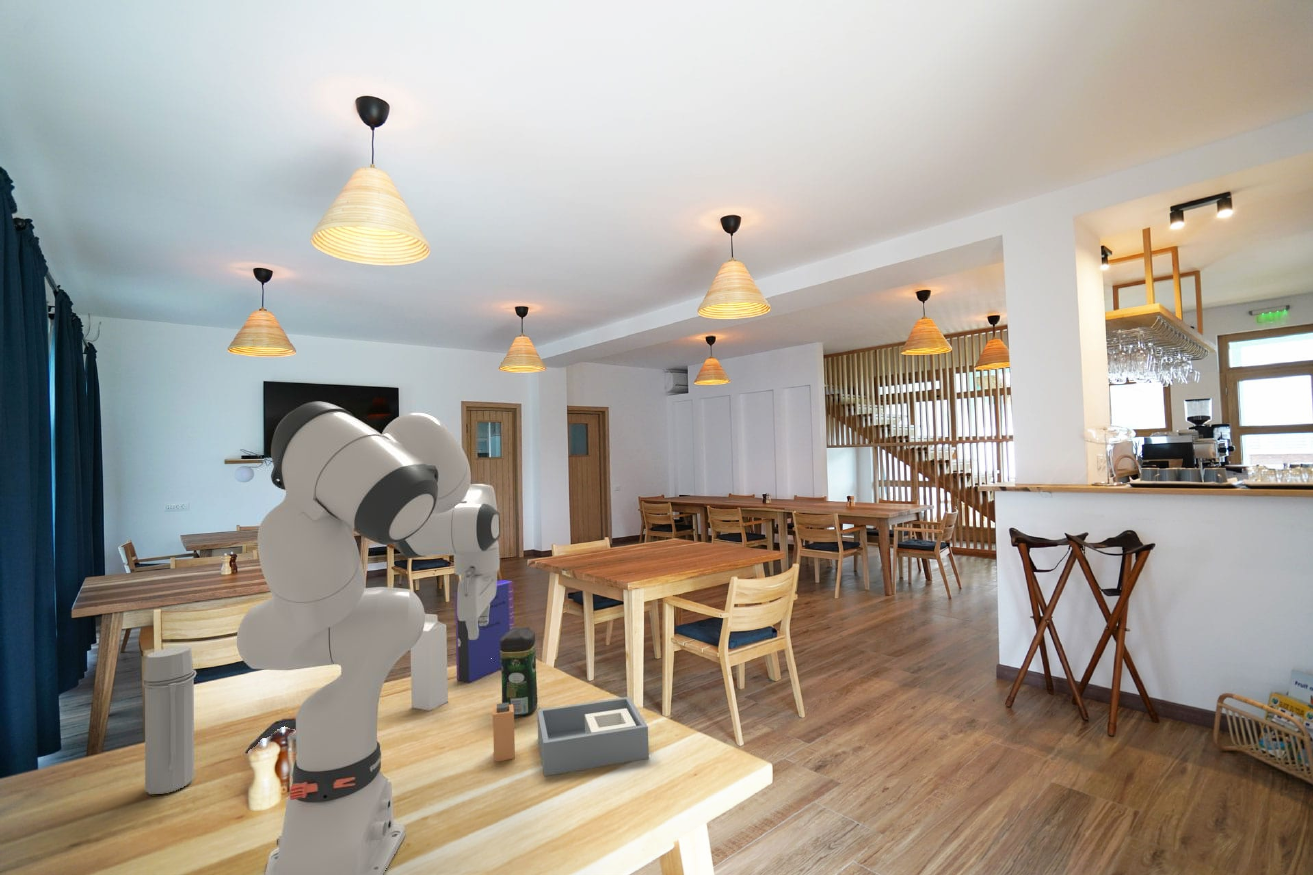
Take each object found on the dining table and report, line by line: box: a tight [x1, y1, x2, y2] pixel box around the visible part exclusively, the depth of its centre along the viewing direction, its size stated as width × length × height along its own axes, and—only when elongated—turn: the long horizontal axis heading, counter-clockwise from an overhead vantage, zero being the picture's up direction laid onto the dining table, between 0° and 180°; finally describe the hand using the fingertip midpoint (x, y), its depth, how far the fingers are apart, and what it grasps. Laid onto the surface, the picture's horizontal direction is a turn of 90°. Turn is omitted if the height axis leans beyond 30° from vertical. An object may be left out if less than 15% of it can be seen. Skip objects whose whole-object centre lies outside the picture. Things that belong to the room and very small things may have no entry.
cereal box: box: [454, 579, 515, 684], centre depth 170 cm, size 17×5×24 cm, turn 150°
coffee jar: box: [500, 626, 538, 718], centre depth 143 cm, size 10×8×19 cm
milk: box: [410, 613, 449, 712], centre depth 148 cm, size 6×6×22 cm
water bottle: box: [141, 646, 197, 795], centre depth 112 cm, size 9×8×25 cm
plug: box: [492, 702, 516, 763], centre depth 120 cm, size 4×4×10 cm
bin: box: [536, 696, 650, 777], centre depth 122 cm, size 16×20×6 cm
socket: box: [585, 708, 636, 734], centre depth 123 cm, size 9×9×4 cm
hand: (478, 631), depth 121 cm, fingers open, 8 cm apart
